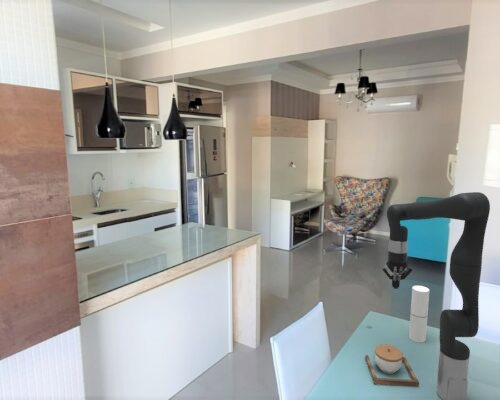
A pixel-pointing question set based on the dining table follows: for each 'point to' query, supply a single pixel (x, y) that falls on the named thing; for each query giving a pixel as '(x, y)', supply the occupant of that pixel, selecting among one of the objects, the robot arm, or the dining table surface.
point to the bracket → (396, 382)
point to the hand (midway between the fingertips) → (395, 288)
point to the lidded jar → (388, 358)
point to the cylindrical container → (419, 313)
